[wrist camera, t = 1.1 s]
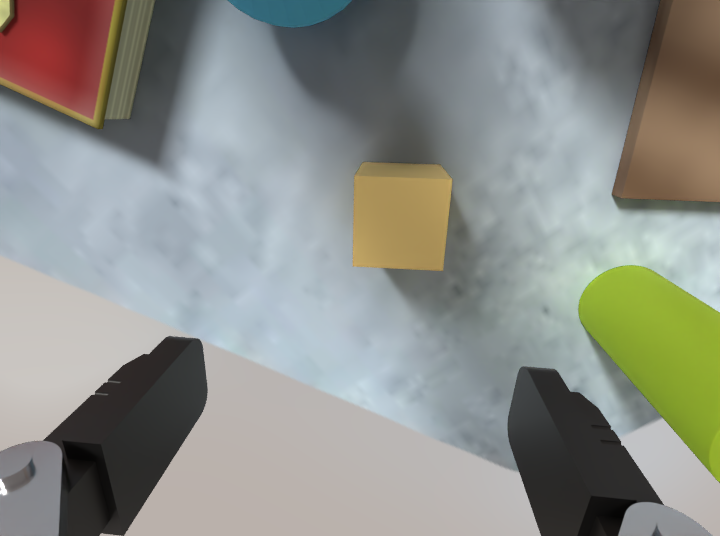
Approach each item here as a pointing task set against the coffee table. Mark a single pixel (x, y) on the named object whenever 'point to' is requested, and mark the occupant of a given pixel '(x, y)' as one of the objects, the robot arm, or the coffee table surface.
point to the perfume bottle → (290, 11)
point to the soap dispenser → (662, 350)
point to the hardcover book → (75, 54)
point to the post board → (676, 109)
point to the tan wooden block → (401, 215)
